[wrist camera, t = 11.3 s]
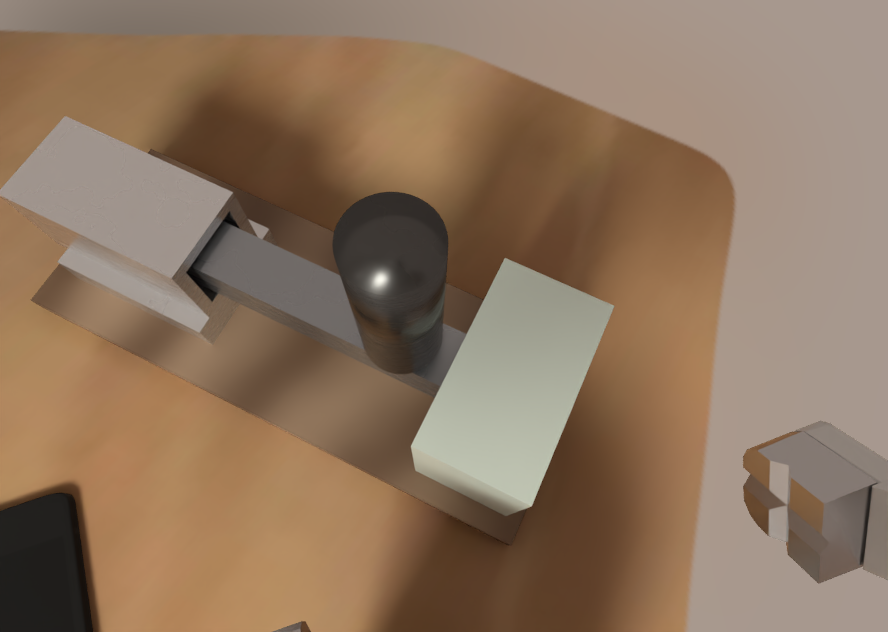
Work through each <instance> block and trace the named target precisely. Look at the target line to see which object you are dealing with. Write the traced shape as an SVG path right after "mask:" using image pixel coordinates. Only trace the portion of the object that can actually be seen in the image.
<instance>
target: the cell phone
mask: <svg viewBox="0 0 888 632" xmlns="http://www.w3.org/2000/svg"><path fill="white" fill-rule="evenodd" d="M0 632H93V628H92V621H91V613H90V606H89V599H88V591H87V584H86V577H85V570H84V562H83V555H82V548H81V540H80V533H79V526H78V519H77V511H76V504H75V500H74V498H73V496H72V495H70V494H65V493H55V494H50V495H46V496H43V497H40V498H37V499H34V500H31V501H28V502H25V503H22V504H19V505H16V506H13V507H10V508H7V509H4V510H1V511H0Z"/></svg>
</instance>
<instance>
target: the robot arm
mask: <svg viewBox="0 0 888 632" xmlns="http://www.w3.org/2000/svg"><path fill="white" fill-rule="evenodd" d="M743 467H744V468H745V469H746V470H747V471H748V472H749V473H750V476H749V477H748V479H747V481H746V483H745V484H744V486H743V489H744V501H745V503H746V506H747V508H748V511H749V513H750V515H751V517H752V518H753V519H754V521H755V522H756V524H757V525H758V526H759V527H760V528H761V529H762V530H763V531H764V532H765V533H766V534H767V535H768V536H769V537H772V538H775V539H778V540H781V541H784V542H786V545H787V551H788V555H789V556H790V557H791V558H792V559H793V560H794V561H795V562H796V563H797V564H798V565H799V566H800V567H801V568H803V569H804V570H805V571H806V572H807V573H808V574H809V575H810V576H811V577H812V578H813V579H814V580H815V581H817V583H821V582H824V581H827V580H829V579H832V578H834V577H837V576H839V575H842V574H845V573H847V572H850V571H852V570H855V569H857V568H860V567H862V566H863V569H864V570H866V571H868V572H870V573H873V574H875V575H877V576H880V577H882V578H884V579H886V580H888V460H886V459H885V458H883V457H882V456H880V455H878V454H877V453H875V452H874V451H872V450H871V449H869V448H867V447H866V446H864V445H863V444H861V443H860V442H858V441H856V440H855V439H854V438H852V437H850V436H849V435H847V434H846V433H844V432H843V431H841V430H839V429H838V428H836V427H835V426H833V425H832V424H830V423H827V422H823V421H819V422H816V423H814V424H811V425H808V426H806V427H803V428H801V429H798V430H796V431H794V432H790V433H787V434H785V435H782V436H780V437H777V438H775V439H773V440H770V441H767V442H765V443H762V444H760V445H757V446H755V447H752V448H750V449H747V451H746V453H745V454H744V456H743ZM273 632H311V631H310V629H309V627H308V625H307V624H306V622H305V621H301V622H298V623H296V624H293V625H290V626H287V627H284V628H282V629H279V630H276V631H273Z"/></svg>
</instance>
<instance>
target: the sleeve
mask: <svg viewBox="0 0 888 632" xmlns="http://www.w3.org/2000/svg"><path fill="white" fill-rule="evenodd" d="M0 197H1V198H3V199H4V200H5V201H6V202H7V203H9V204H10V205H11V206H12V207H14V208H15V209H16V210H17V211H18V212H20V213H21V214H22V215H23V216H25V217H26V218H27V219H28V220H30V221H31V222H32V223H33V224H34V225H36V226H37V227H38V228H39V229H41V230H42V231H43V232H44V233H46V234H47V235H48V236H49V237H50V238H52V239H53V240H54V241H55V242H57V243H58V244H60V245H62V246H64V247H66V248H68V249H67V250H66V252H65V253H64V254H63V255H62V257H61V258H60V259H59V260H58V263H59V264H60V265H62V266H63V267H64V268H66V269H67V270H68V271H70V272H71V273H72V274H74V275H75V276H76V277H77V278H79V279H81V280H83V281H85V282H87V283H89V284H91V285H93V286H95V287H97V288H99V289H101V290H103V291H105V292H107V293H109V294H111V295H113V296H116V297H118V298H120V299H122V300H124V301H126V302H128V303H130V304H132V305H134V306H136V307H138V308H140V309H142V310H144V311H146V312H148V313H150V314H152V315H154V316H156V317H158V318H160V319H162V320H164V321H166V322H168V323H170V324H172V325H174V326H176V327H178V328H180V329H182V330H184V331H186V332H188V333H190V334H192V335H194V336H196V337H198V338H200V339H202V340H204V341H206V342H208V343H210V344H212V345H213V344H214V342H215V341H216V339H217V338H218V336H219V335H220V333H221V332H222V330H223V328H224V327H225V325H226V324H227V322H228V321H229V319H230V318H231V316H232V315H233V313H234V312H235V310H236V309H237V307H238V306H239V303H237V302H235V301H233V300H231V299H229V298H227V297H225V296H223V295H220V294H218V293H216V292H214V291H212V290H210V289H208V288H206V287H204V286H202V285H200V284H198V283H196V282H195V281H194V280H193V279H192V278H191V276H190V275H189V274H188V273H187V270H188V269H189V268H190V266H191V265H192V263H193V262H194V261H195V259H196V258H197V256H198V255H199V253H200V252H201V251H202V249H203V248H204V246H205V245H206V244H207V242H208V241H209V239H210V238H211V237H212V235H213V234H214V232H215V231H216V229H217V228H218V227H219V225H220V224H221V222H222V221H224V222H226V223H228V224H230V225H232V226H234V227H237V228H239V229H241V230H243V231H245V232H247V233H250V234H252V235H254V236H256V237H258V238H260V239H262V240H265V241H267V242H269V243H271V244H273V245H275V246H278V245H277V243H276V241H275V239H274V237H273V235H272V233H271V231H270V229H268V228H266V227H264V226H262V225H260V224H258V223H255V222H253V221H251V220H249V219H248V218H247V217H246V215H245V213H244V211H243V209H242V208H241V206H240V204H239V202H238V200H237V199H236V197H235V195H234V193H233V192H231V191H229V190H227V189H225V188H222V187H220V186H218V185H216V184H214V183H211V182H209V181H207V180H205V179H203V178H200V177H198V176H196V175H194V174H192V173H189V172H187V171H185V170H183V169H181V168H178V167H176V166H174V165H172V164H170V163H167V162H165V161H163V160H161V159H159V158H156V157H154V156H152V155H150V154H148V153H145V152H143V151H141V150H139V149H137V148H134V147H132V146H130V145H128V144H126V143H123V142H121V141H119V140H117V139H115V138H112V137H110V136H108V135H106V134H104V133H101V132H99V131H97V130H95V129H93V128H90V127H88V126H86V125H84V124H82V123H79V122H77V121H75V120H73V119H71V118H68V117H66V116H65V117H64V118H63V119H62V120H61V121H60V122H59V124H58V125H57V126H56V127H55V128H54V129H53V130H52V132H51V133H50V134H49V135H48V136H47V137H46V138H45V139H44V141H43V142H42V143H41V144H40V145H39V146H38V147H37V149H36V150H35V151H34V152H33V153H32V154H31V155H30V157H29V158H28V159H27V160H26V161H25V162H24V163H23V164H22V166H21V167H20V168H19V169H18V170H17V171H16V172H15V174H14V175H13V176H12V177H11V178H10V179H9V180H8V181H7V183H6V184H5V185H4V186H3V187H2V188H1V189H0Z"/></svg>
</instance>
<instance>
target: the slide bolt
mask: <svg viewBox="0 0 888 632" xmlns="http://www.w3.org/2000/svg"><path fill="white" fill-rule="evenodd" d="M332 246H333V254H334V258H335V261H336V264H337V267H338V270H339V273H340V275H338V274H336V273H334V272H332V271H329V270H327V269H325V268H323V267H321V266H319V265H316V264H314V263H312V262H310V261H308V260H306V259H303V258H301V257H299V256H297V255H295V254H293V253H291V252H288V251H286V250H284V249H282V248H280V247H278V246H275V245H273V244H271V243H269V242H267V241H265V240H262V239H260V238H258V237H256V236H254V235H252V234H250V233H247V232H245V231H243V230H241V229H239V228H237V227H234V226H232V225H230V224H228V223H226V222H224V221H222V222H221V224H220V225H219V227H218V228H217V229H216V231H215V232H214V234H213V235H212V237H211V238H210V239H209V241H208V242H207V244H206V245H205V246H204V248H203V249H202V251H201V252H200V253H199V255H198V256H197V258H196V259H195V261H194V262H193V263H192V265H191V266H190V268H189V269H188V270H187V273H188V274H189V275H190V276H191V278H192V279H193V280H194V281H195V282H196V283H198V284H200V285H202V286H204V287H206V288H208V289H210V290H212V291H214V292H216V293H218V294H220V295H223V296H225V297H227V298H229V299H231V300H233V301H235V302H237V303H239V304H241V305H243V306H245V307H247V308H249V309H252V310H254V311H256V312H258V313H260V314H262V315H264V316H266V317H268V318H270V319H272V320H274V321H276V322H278V323H281V324H283V325H285V326H287V327H289V328H291V329H293V330H295V331H297V332H299V333H301V334H303V335H305V336H307V337H309V338H312V339H314V340H316V341H318V342H320V343H322V344H324V345H326V346H328V347H330V348H332V349H334V350H336V351H338V352H341V353H343V354H345V355H347V356H349V357H351V358H353V359H355V360H357V361H359V362H361V363H363V364H365V365H367V366H370V367H372V368H374V369H376V370H378V371H380V372H382V373H384V374H386V375H388V376H390V377H392V378H394V379H396V380H399V381H401V382H403V383H405V384H407V385H409V386H411V387H413V388H415V389H417V390H419V391H421V392H423V393H425V394H427V395H430V396H432V397H434V398H435V397H436V395H437V393H438V391H439V389H440V387H441V385H442V383H443V381H444V379H445V377H446V375H447V373H448V371H449V369H450V367H451V365H452V363H453V361H454V359H455V357H456V355H457V353H458V351H459V349H460V347H461V345H462V343H463V341H464V339H465V337H466V335H467V334H465V333H463V332H461V331H459V330H457V329H455V328H452V327H450V326H448V325H446V324H444V323H443V319H444V303H445V288H446V272H447V256H448V235H447V230H446V227H445V224H444V222H443V220H442V219H441V217H440V216H439V214H438V213H437V212H436V211H435V209H434V208H432V207H431V206H430V205H429V204H428V203H426V202H425V201H423V200H421V199H419V198H417V197H415V196H412V195H409V194H405V193H399V192H384V193H378V194H374V195H371V196H368V197H365V198H363V199H361V200H359V201H358V202H356V203H355V204H353V205H352V206H351V207H350V208H349V209H348V210H347V211H346V212H345V213H344V214H343V215H342V217H341V218H340V220H339V222H338V223H337V225H336V228H335V231H334V235H333V243H332Z"/></svg>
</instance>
